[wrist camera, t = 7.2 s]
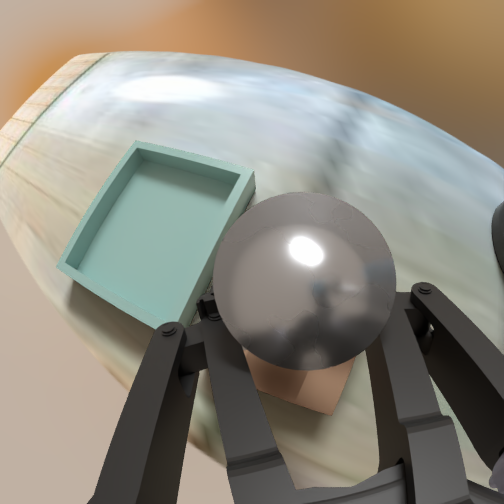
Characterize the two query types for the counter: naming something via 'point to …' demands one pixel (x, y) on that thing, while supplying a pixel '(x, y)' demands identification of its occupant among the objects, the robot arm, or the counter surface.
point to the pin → (304, 281)
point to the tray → (157, 231)
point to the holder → (301, 383)
